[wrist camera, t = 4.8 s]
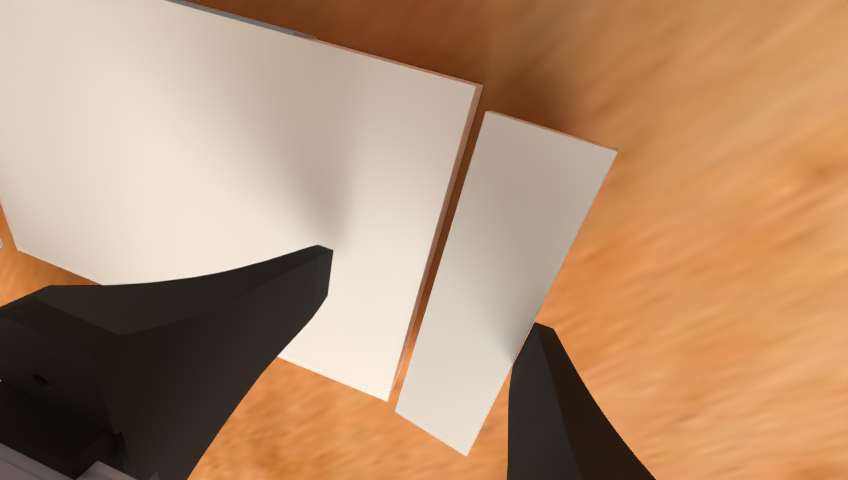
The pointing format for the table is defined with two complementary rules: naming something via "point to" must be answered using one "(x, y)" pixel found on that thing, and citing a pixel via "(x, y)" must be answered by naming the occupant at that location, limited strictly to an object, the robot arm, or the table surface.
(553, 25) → the table surface
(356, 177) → the carton
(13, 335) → the robot arm
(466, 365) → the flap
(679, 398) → the table surface
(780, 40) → the table surface
